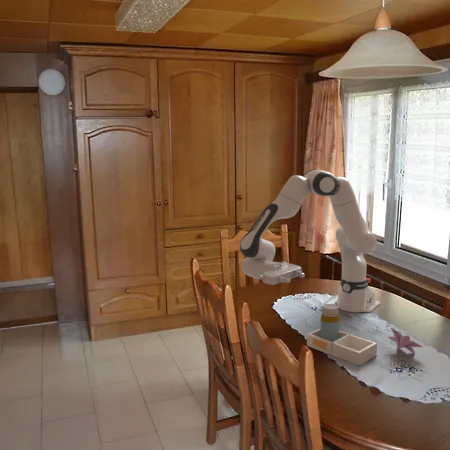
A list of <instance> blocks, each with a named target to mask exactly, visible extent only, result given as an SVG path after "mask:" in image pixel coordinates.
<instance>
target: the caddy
mask: <svg viewBox="0 0 450 450" xmlns="http://www.w3.org/2000/svg"><path fill="white" fill-rule="evenodd" d="M306 347H309V348H311V349H315V350H318V351H320V352H322V353H325V354H327V355H329V356H332V355H333V357H336V358H337V357H338V359H340V358H341V359H340V360H343V359H344V360H343V361H345V360H346V361H345V362H348V361H349V362H348V363H350V362H351V364H353V363H354V364H353V365H356V366H358V365H359V366H361V365H363V364H365V363H366V362H368V361H369V360H371V359H373V358H374V357H377V354H378V353H377V352H378V343H377V342H374V341H372V340H369V339H366V338H362V337H360V336H357V335H354V334H351V333H348V332H344V331H342V330H339V339H338V340H336V341H333V342H331V341H328V340H326V339H323V338H320V328H317V329H315V330H313V331H311V332H309V333H307V335H306Z"/></svg>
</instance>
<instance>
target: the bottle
mask: <svg viewBox="0 0 450 450" xmlns="http://www.w3.org/2000/svg"><path fill="white" fill-rule="evenodd" d="M339 310H340V309H339V307H338V306H337V304H336V303H324V304H322V305H321V316H320V328H319V329H320V338H323V339H326V340H328V341H331V342H333V341H336V340H338V339H339V331H340V316H339Z"/></svg>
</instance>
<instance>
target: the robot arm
mask: <svg viewBox="0 0 450 450" xmlns="http://www.w3.org/2000/svg"><path fill="white" fill-rule="evenodd" d="M310 194H314V195H316V196H317V195H318V196H321V197H328V198H329V200H330V203H331V207H332V210H333V212H334V216H335V219H336V221H337V223H338V224H339V225H340V226H339V227H338V228H337V229H336V231H335V239H336V241H337V243H338V247H339V252H340V256H341V277H340V286H339V287H338V291H337V299H336V300H335V301H334V304H335V305H337V306H338V307H339V310H342V311H344V312H348V313H372V311H373V310H375V309H376V308H377V307H378V306H379V305H380V304H381V302H380V301H379V300H377V299H376V293H375V291H374V290H372V288H370V287H369V285H368V284H370V283H371V278H368V277H367V265H368V264H367V261H366V259H365V257H364V255H365V254H366V255H367V254H370V253H372V252H374V251H375V249H376V247H377V244H378V239H377V238H376V236H375V235H374V234H373V232H372V231H371V229H370V228H369V225H368V224H367V222H366V220H365V219H364V217H363V215H362V213H361V211H360V207H359V204H358V201H357V198H356V195H355V192H354V189H353V187H352V185H351V183H350V181H349V179H348V178H347V177H344V176H337V177H336V176H335V175H334V174H333V173H331V172H329V171H326V170H323V169H310V170H308V171H306V172H305V173H304V174H302V175H292V176H290V177H289V178H288V180H287V181H286V183H285V184H284V185H283V187H282V188H281V190H280V192H279V194H278V195H277V196H276V198H275V199H274V200H273V202H272V203H269V204H268V205H267V206H265V208H264V210H263V211H262V212H261V214H259V216H258V217H257V219H256V220H255V222H254V224H253V225H252V226H251V228H250V229H249V230H248V232H247V233H245V234H244V236H243V237H242V238H241V239H240V242H239V250H240V253H241V254H242V255H243V257H245V258H243V260H242V262H241V270H242V272H243V273H244V274H245V275H246V276H248V277H251V278H254V279H258V280H260V281H262V282H263V283H264V284H267V285H271V286H275V285H277V284H280V283H281V284H282V283H286V284H289V283H291V281H292V280H291V279H294V278H296V277H299V278H302V279H303V278H305V277H306V276H305V275H306V273H304V272H303V269H302V267H301V266H300V265H297V264H293V263H287V261H274V259H275V257H276V253H277V249H276V245H275V244H274V242H272V241H270V240H267V239H264V238H262V237H263V236H264V234H265V233H266V231H267V229H268V228H269V227H270V225H272V223H274V222H275V221H277V220H282V219H285V220H286V219H290V218H292V217H294V216H295V215H296V214H297V213H298V212H299V210H300V209H301V206H302V205H303V203H304V201H305V199H306V198H307V196H308V195H310Z"/></svg>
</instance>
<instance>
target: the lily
mask: <svg viewBox="0 0 450 450" xmlns="http://www.w3.org/2000/svg"><path fill="white" fill-rule="evenodd" d="M391 330H392V331H391V332H392V333H393V336H387V338H388V339H389V340H391V341H393V342H395V343H396V348H398V353H397V358H399V354H400V350H401V349H403V348H405V349H406V350H408V351H409V352H411V353H412V354H413V353H414V354H415V351H414V348H423V346H422V345H420V344H419V343H417V342H415V341H413V340H411V337H410V335H402V333H400V332H399V331H398V330H396V329H394V328H391Z"/></svg>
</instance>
